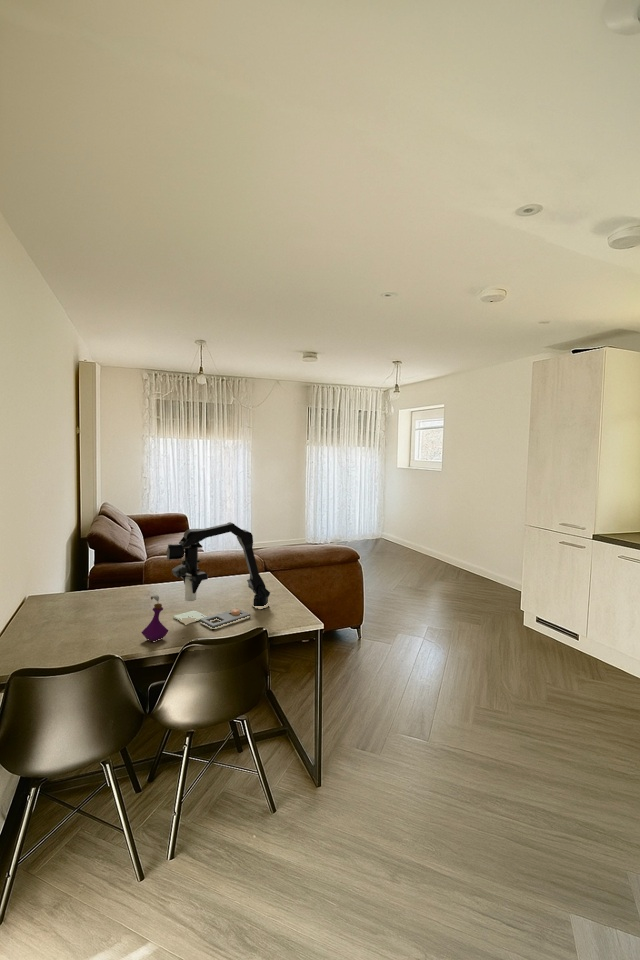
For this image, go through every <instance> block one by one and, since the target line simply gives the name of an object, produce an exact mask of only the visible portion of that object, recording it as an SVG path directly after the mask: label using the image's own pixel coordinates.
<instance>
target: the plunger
mask: <svg viewBox="0 0 640 960" xmlns="http://www.w3.org/2000/svg"><path fill="white" fill-rule="evenodd" d="M233 609H234V610H233ZM233 609H230V610H231V615H233V616H237V615H240V610H241V609H240V610H239V608H233Z"/></svg>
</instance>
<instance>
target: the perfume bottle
mask: <svg viewBox="0 0 640 960" xmlns="http://www.w3.org/2000/svg"><path fill="white" fill-rule="evenodd" d="M150 600H155V601H156V602H159V600H160V596H159V594H154V595H151V596H150ZM152 611H153V612H154V614H153V617H152V619H151V621H150V622H149V624H148V625H147V626H146V627H145V628H144V629H143V630H142V631H141V634H142V635H143V636H144V637H145V638H146V640H147V639H149V640H152V641H156V640H158V639H161V638H163V637H165V636H166V635H167V634H168V632H169V629H168V628H166V626H165V625H163V623H162V622H161V621H160V614H161V612H162V611H164V607H163V604H162V603H155V604H154V607H153V608H152ZM163 639H164V638H163ZM149 640H148V641H149ZM161 640H162V639H161ZM152 641H151V642H152Z"/></svg>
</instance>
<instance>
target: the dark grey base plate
mask: <svg viewBox="0 0 640 960" xmlns="http://www.w3.org/2000/svg"><path fill="white" fill-rule="evenodd" d="M234 609H235V608H233V609H230V610H226V611H224V612H221V613H217V614H213V615H210V616H207V617H206V618H202V619H200V621H199V623H200V622H202V623H205V624H207V625H208V626H210V627H212V628H215V627H218V626H221V625H223V624H227V623H230V622H233V621H236V620H238V619H241V618H245V617H247V616H250V617H251V614H250V613H249V612H247V611H244V610H242V609H239V608H238V609H239V610H240V614H241V615H237V616H233V615H231V610H234ZM216 618H217V619H219V620H221V621H220V622H219V621H215V622H210V620H214V619H216Z"/></svg>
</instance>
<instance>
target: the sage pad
mask: <svg viewBox="0 0 640 960" xmlns="http://www.w3.org/2000/svg"><path fill="white" fill-rule="evenodd" d="M201 615H203V616H204V617H208V616H207V615H206V614H203V613H201V612H199V611H196V610H190V611H187V612H183V613H179V614H175V615H172V618H173V617H175V618H177V619H179V618H180V619H181V620H182V618H188V616H189V617H191V618H196V619H201V618H204V617H203V616H201ZM192 616H193V617H192ZM196 619H195V620H196Z"/></svg>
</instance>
